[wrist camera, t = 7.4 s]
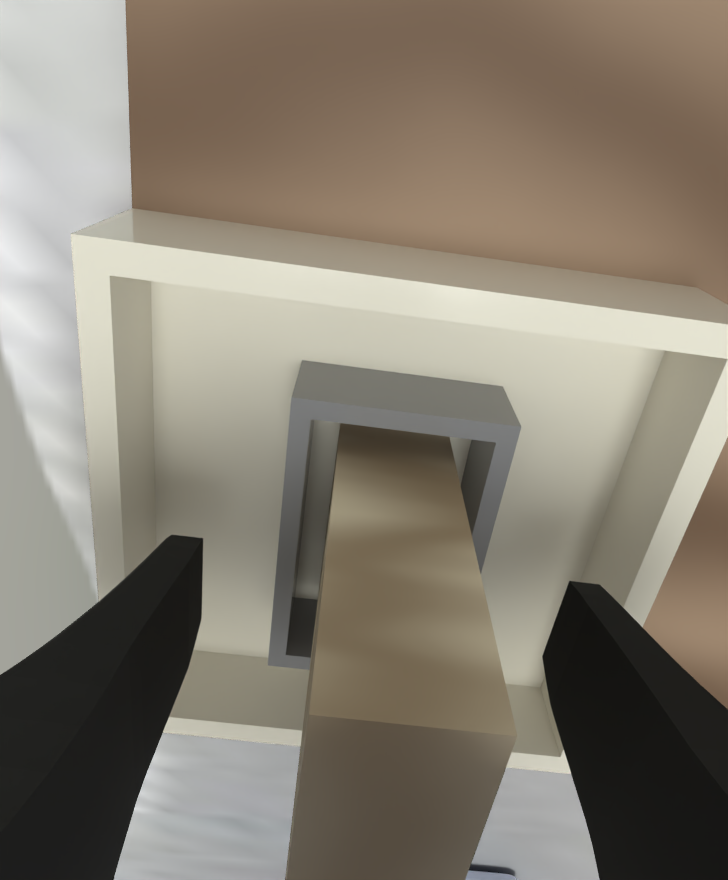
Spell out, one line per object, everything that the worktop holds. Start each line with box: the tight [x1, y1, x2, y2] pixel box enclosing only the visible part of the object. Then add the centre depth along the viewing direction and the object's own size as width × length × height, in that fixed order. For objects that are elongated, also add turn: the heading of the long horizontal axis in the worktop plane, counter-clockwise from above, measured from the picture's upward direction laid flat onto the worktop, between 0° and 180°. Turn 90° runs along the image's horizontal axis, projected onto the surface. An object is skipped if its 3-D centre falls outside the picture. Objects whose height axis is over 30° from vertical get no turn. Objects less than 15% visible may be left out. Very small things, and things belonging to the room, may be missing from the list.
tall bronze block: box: [285, 423, 517, 880], centre depth 12 cm, size 2×5×8 cm, turn 172°
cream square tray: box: [71, 208, 728, 774], centre depth 15 cm, size 12×12×3 cm
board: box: [126, 0, 728, 709], centre depth 16 cm, size 20×20×1 cm
